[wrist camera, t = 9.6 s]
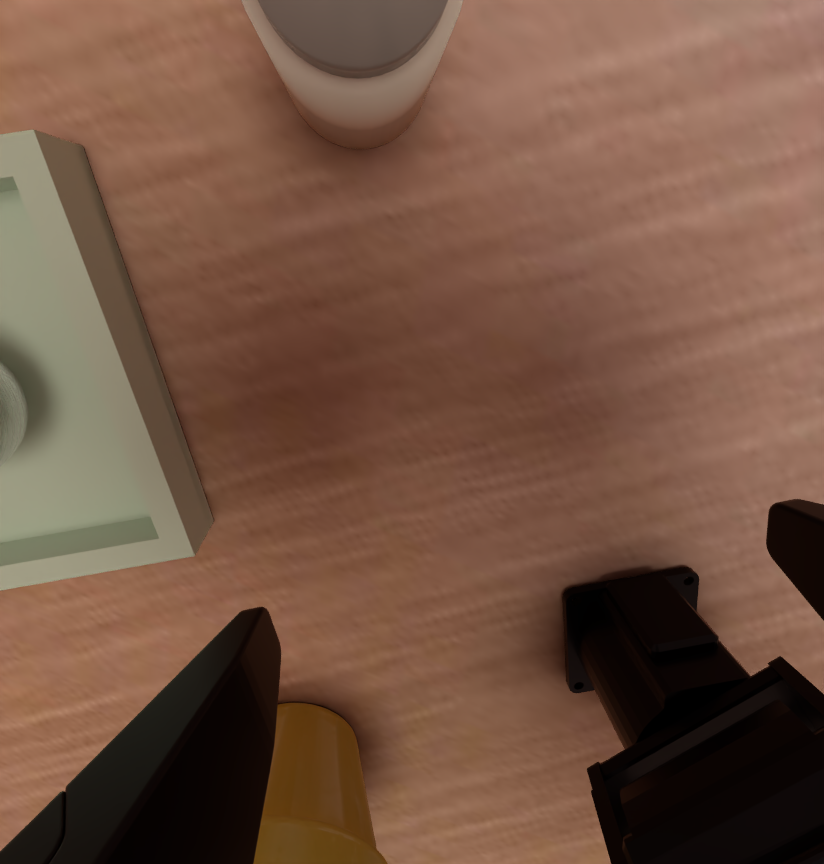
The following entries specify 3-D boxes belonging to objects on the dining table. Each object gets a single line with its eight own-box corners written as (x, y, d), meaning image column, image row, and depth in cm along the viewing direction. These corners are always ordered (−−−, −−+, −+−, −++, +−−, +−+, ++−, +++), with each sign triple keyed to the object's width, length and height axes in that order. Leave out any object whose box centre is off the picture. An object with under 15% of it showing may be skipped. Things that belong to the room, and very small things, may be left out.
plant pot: (160, 695, 24) (33, 971, 15) (368, 652, 24) (367, 901, 15) (227, 826, 28) (159, 1110, 19) (406, 789, 28) (425, 1053, 19)
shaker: (438, 137, 16) (489, 64, 10) (301, 159, 16) (255, 101, 10) (418, -38, 15) (462, -275, 8) (265, -15, 15) (178, -236, 8)
